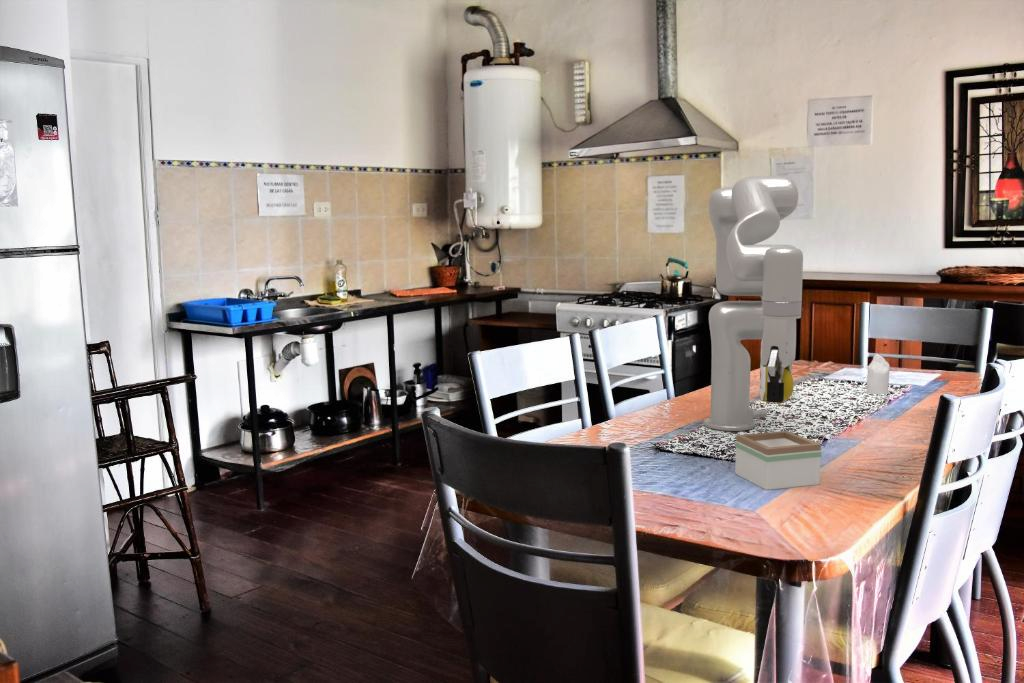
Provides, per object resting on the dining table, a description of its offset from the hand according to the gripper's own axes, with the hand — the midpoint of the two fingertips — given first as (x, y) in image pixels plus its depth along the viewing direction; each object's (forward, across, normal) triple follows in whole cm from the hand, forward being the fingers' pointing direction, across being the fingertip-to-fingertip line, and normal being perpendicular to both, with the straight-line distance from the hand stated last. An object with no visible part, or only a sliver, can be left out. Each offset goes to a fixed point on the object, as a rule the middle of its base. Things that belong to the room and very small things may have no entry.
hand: (778, 398), depth 189 cm
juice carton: (+17, -78, -18) cm, 82 cm away
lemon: (+1, 0, 0) cm, 1 cm away
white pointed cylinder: (+17, -98, +6) cm, 100 cm away
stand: (+17, 0, 0) cm, 17 cm away
